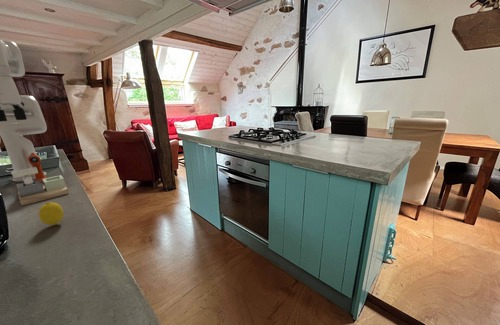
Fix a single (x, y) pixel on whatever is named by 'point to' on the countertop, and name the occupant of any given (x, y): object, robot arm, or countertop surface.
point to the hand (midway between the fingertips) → (12, 120)
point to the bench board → (43, 195)
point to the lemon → (51, 213)
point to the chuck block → (30, 188)
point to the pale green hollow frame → (54, 183)
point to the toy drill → (36, 162)
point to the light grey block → (25, 174)
